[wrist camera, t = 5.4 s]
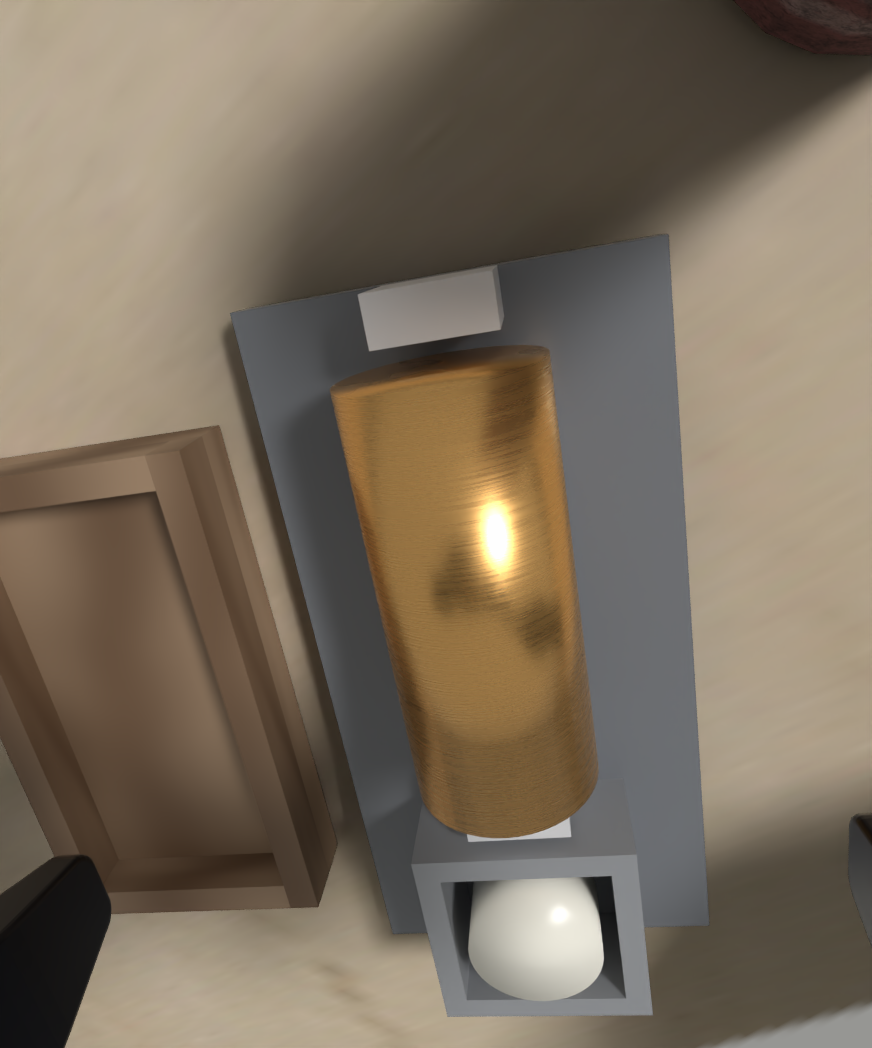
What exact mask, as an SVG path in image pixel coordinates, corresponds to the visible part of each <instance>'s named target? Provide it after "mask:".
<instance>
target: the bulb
mask: <svg viewBox="0 0 872 1048" xmlns="http://www.w3.org/2000/svg"><path fill="white" fill-rule="evenodd" d="M468 952H469V957H470V960H471V963H472V965H473V967H474V969H475V970H476V972H477V973H478V974H479V975H480V976H481V978H482V979H483V980H485V981H486V982H487V983H488V984H489V985H491V986H492V987H494V988H495V989H497V990H499V991H501V992H503V993H505V994H508V995H510V996H513V997H517V998H521V999H525V1000H532V1001H553V1000H559V999H564V998H568V997H570V996H573V995H576V994H578V993H580V992H581V991H583V990H585V989H586V988H587V987H589V986H590V985H591V984H592V983H593V982H594V981H595V980H596V978H597V977H598V975H599V974H600V972H601V969H602V966H603V961H604V952H603V943H602V934H601V924H600V915H599V905H598V896H597V888H596V883H595V881H594V878H593V877H572V878H546V879H519V880H493V881H474V883H473V895H472V907H471V919H470V931H469V944H468Z"/></svg>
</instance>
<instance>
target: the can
mask: <svg viewBox="0 0 872 1048" xmlns="http://www.w3.org/2000/svg"><path fill="white" fill-rule="evenodd" d="M734 1H735V2H736V3H737V4H738V5H739V6H740V8H741V9H742V10H743V11H744V12H745V13H746V14H747V15H748V16H749V17H750V18H751V19H752V20H753V21H754V22H755V23H756V24H757V25H758V26H759V27H760V28H761V29H762V30H763V31H764V32H765V33H767V34H770V35H772V36H775V37H777V38H779V39H782V40H784V41H786V42H789V43H791V44H793V45H796V46H798V47H800V48H803V49H805V50H808V51H810V52H812V53H815V54H848V55H872V0H734Z"/></svg>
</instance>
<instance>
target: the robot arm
mask: <svg viewBox="0 0 872 1048" xmlns="http://www.w3.org/2000/svg"><path fill="white" fill-rule="evenodd" d="M848 875H849V882H850V887H851V891H852V894H853V897H854V900H855V903H856V906H857V909H858V911H859V914H860V917H861V919H862V922H863V925H864V928H865V930H866V933H867V936H868V939H869V941H870V944H871V947H872V813H864V814H856V815H854V816H853V817H852V818H851V821H850V824H849V860H848ZM110 918H111V901H110V898H109V896H108V893H107V891H106V889H105V887H104V884H103V882H102V880H101V878H100V875H99V873H98V871H97V868H96V866H95V864H94V862H93V860H92V859H91V858H90V857H89V856H87V855H84V854H76V855H60V856H56V857H54V858H52V859H50V860H49V861H47V862H46V863H44V864H43V865H41V866H40V867H39V868H37V869H36V870H34V871H33V872H32V873H30V874H29V875H27V876H26V877H25V878H23V879H22V880H20V881H19V882H17V883H16V884H15V885H13V886H12V887H10V888H9V889H8V890H6V891H5V892H3V893H2V894H1V895H0V1048H65V1045H66V1043H67V1040H68V1037H69V1035H70V1032H71V1030H72V1027H73V1024H74V1021H75V1018H76V1016H77V1013H78V1010H79V1007H80V1004H81V1002H82V999H83V996H84V993H85V990H86V988H87V985H88V982H89V979H90V976H91V974H92V971H93V968H94V965H95V962H96V960H97V957H98V954H99V951H100V948H101V946H102V943H103V940H104V937H105V934H106V932H107V929H108V926H109V923H110Z"/></svg>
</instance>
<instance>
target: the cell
mask: <svg viewBox="0 0 872 1048" xmlns="http://www.w3.org/2000/svg"><path fill="white" fill-rule="evenodd" d="M330 394H331V398H332V403H333V407H334V412H335V416H336V421H337V425H338V430H339V434H340V438H341V443H342V447H343V452H344V456H345V461H346V465H347V470H348V474H349V478H350V483H351V487H352V492H353V496H354V501H355V505H356V510H357V514H358V518H359V523H360V527H361V532H362V536H363V541H364V545H365V550H366V554H367V558H368V563H369V567H370V572H371V576H372V581H373V585H374V590H375V594H376V598H377V603H378V607H379V612H380V616H381V621H382V625H383V630H384V634H385V638H386V643H387V647H388V652H389V656H390V661H391V665H392V670H393V674H394V678H395V683H396V687H397V692H398V696H399V701H400V705H401V710H402V714H403V718H404V723H405V727H406V732H407V736H408V741H409V745H410V749H411V754H412V758H413V763H414V767H415V772H416V776H417V781H418V785H419V789H420V793H421V797H422V800H423V802H424V804H425V806H426V807H427V809H428V810H429V811H430V812H431V814H432V815H433V816H434V817H436V818H437V819H438V820H439V821H440V822H442V823H443V824H445V825H446V826H448V827H450V828H452V829H454V830H456V831H459V832H462V833H465V834H468V835H473V836H478V837H485V838H513V837H521V836H526V835H531V834H534V833H537V832H541V831H544V830H546V829H549V828H551V827H553V826H556V825H557V824H559V823H561V822H563V821H564V820H566V819H568V818H569V817H570V816H572V815H573V814H574V813H576V812H577V811H578V810H579V809H580V808H581V807H582V806H583V805H584V804H585V803H586V801H587V800H588V799H589V798H590V796H591V794H592V792H593V791H594V789H595V786H596V783H597V780H598V774H599V766H598V756H597V748H596V739H595V731H594V722H593V714H592V705H591V697H590V688H589V680H588V672H587V663H586V655H585V646H584V638H583V629H582V621H581V612H580V604H579V595H578V587H577V578H576V570H575V561H574V553H573V544H572V536H571V527H570V519H569V511H568V502H567V494H566V485H565V477H564V468H563V460H562V451H561V443H560V434H559V426H558V417H557V409H556V400H555V392H554V383H553V375H552V367H551V358H550V351H549V349H547V348H545V347H542V346H535V345H504V346H492V347H482V348H473V349H466V350H459V351H452V352H446V353H440V354H434V355H429V356H424V357H419V358H414V359H410V360H405V361H401V362H397V363H393V364H388V365H385V366H381V367H377V368H374V369H371V370H367V371H364V372H361V373H358V374H356V375H353V376H350V377H348V378H345V379H343V380H341V381H339V382H337V383H336V384H334V385H333V386H332V387H331V388H330Z"/></svg>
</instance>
